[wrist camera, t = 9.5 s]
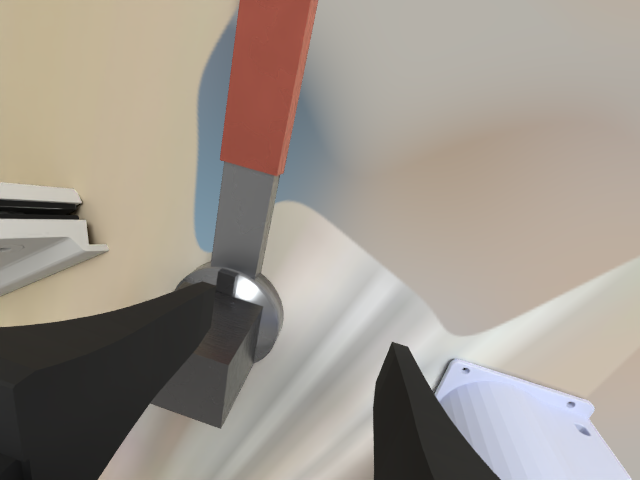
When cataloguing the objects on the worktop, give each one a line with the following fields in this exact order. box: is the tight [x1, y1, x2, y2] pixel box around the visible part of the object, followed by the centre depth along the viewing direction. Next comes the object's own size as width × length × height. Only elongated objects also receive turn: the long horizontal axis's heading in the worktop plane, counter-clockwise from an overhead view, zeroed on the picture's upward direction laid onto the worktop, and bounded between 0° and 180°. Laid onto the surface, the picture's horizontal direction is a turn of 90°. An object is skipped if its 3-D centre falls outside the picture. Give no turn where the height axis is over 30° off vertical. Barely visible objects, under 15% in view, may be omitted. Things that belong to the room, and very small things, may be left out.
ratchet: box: [175, 0, 318, 364], centre depth 19 cm, size 8×25×5 cm, turn 166°
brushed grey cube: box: [150, 281, 263, 429], centre depth 20 cm, size 6×6×5 cm
